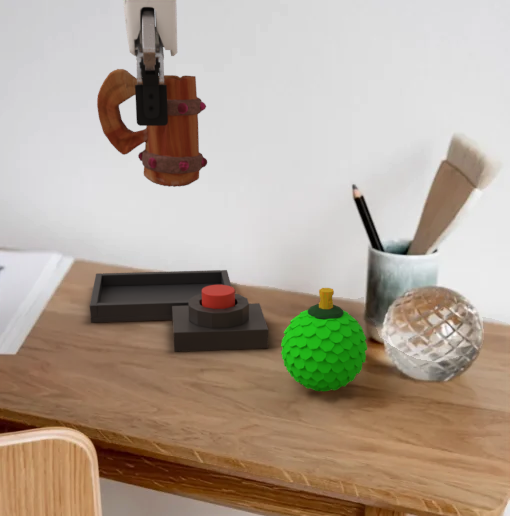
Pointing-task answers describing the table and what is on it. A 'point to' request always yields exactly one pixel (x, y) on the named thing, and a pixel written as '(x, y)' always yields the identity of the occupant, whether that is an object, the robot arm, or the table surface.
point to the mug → (157, 128)
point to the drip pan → (148, 293)
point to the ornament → (324, 346)
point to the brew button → (218, 296)
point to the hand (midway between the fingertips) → (152, 118)
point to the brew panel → (219, 326)
